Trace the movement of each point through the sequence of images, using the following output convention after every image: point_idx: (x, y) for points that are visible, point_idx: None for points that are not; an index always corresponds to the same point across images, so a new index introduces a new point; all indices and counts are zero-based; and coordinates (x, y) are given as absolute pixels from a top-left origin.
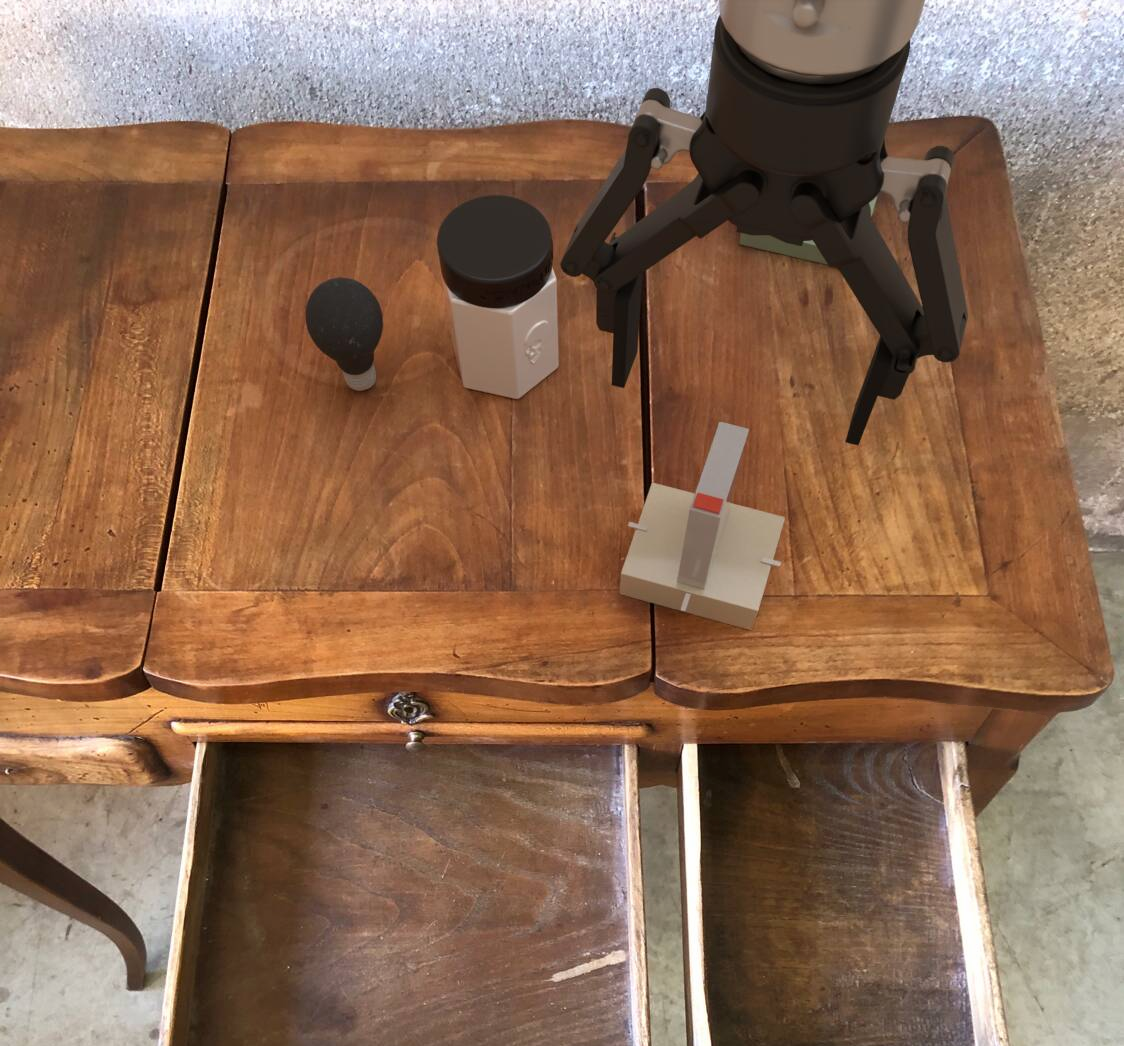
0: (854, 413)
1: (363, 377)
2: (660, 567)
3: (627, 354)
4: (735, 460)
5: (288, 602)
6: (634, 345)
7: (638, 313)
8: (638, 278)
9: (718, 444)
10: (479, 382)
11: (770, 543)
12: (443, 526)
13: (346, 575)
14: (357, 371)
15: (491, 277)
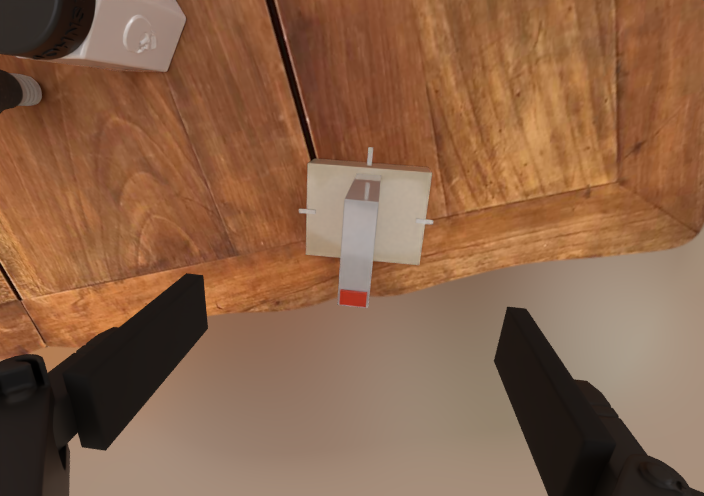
0: (507, 365)
1: (25, 101)
2: (334, 243)
3: (179, 353)
4: (370, 245)
5: (99, 292)
6: (188, 307)
7: (158, 324)
8: (98, 395)
9: (349, 228)
10: (123, 70)
11: (421, 202)
12: (166, 214)
13: (123, 266)
14: (13, 106)
15: (20, 45)
